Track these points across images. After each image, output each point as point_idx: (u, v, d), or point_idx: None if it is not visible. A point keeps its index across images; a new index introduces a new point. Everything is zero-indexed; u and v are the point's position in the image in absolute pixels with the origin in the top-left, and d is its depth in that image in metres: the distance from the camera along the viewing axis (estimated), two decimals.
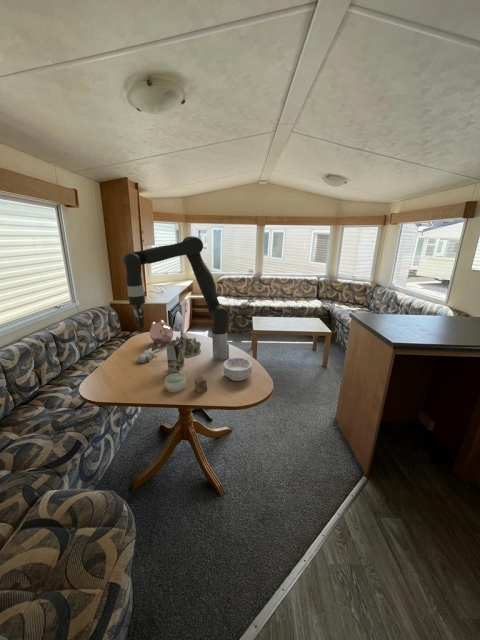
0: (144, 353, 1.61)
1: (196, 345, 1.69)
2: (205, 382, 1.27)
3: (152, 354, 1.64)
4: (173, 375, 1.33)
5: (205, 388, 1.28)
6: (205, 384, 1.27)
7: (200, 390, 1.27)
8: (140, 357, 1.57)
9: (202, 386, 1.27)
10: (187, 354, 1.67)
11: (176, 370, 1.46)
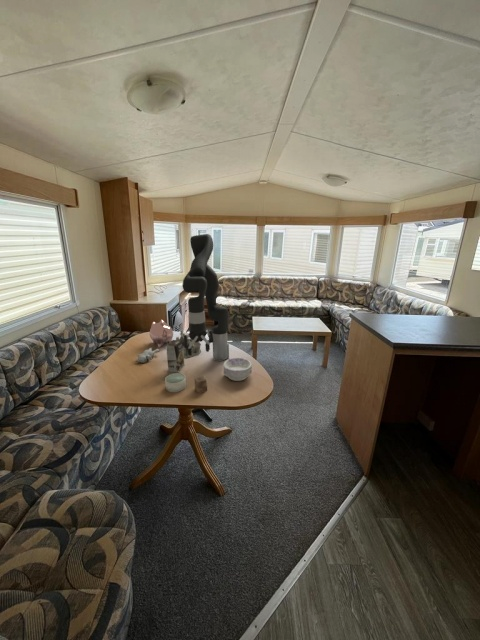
0: (144, 353, 1.61)
1: (196, 345, 1.69)
2: (205, 382, 1.27)
3: (152, 354, 1.64)
4: (173, 375, 1.33)
5: (205, 388, 1.28)
6: (205, 384, 1.27)
7: (200, 390, 1.27)
8: (140, 357, 1.57)
9: (202, 386, 1.27)
10: (187, 354, 1.66)
11: (176, 370, 1.46)
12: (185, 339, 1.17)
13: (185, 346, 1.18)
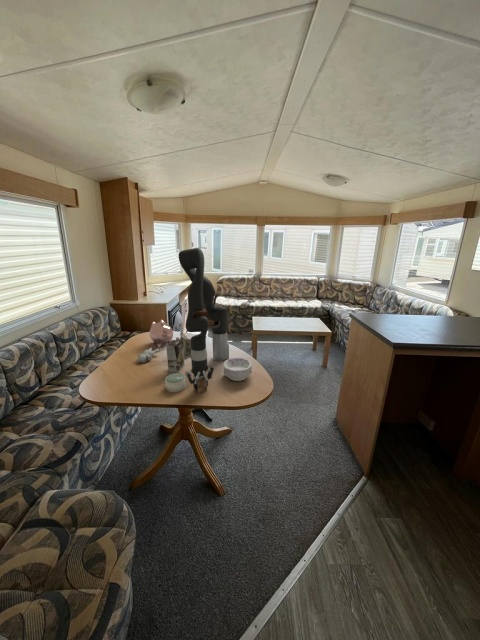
0: (144, 353, 1.61)
1: None
2: (205, 382, 1.27)
3: (152, 354, 1.64)
4: (173, 375, 1.33)
5: (205, 388, 1.28)
6: (205, 384, 1.27)
7: (200, 390, 1.27)
8: (140, 357, 1.57)
9: (202, 386, 1.27)
10: (187, 355, 1.65)
11: (176, 370, 1.46)
12: (189, 377, 1.23)
13: (191, 382, 1.24)
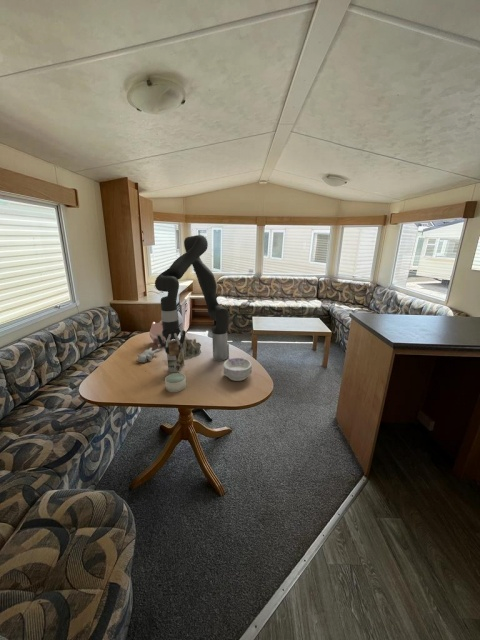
0: (144, 353, 1.61)
1: (196, 346, 1.68)
2: (177, 345, 1.24)
3: (152, 354, 1.64)
4: (173, 375, 1.33)
5: (177, 352, 1.25)
6: (177, 347, 1.25)
7: (172, 353, 1.24)
8: (140, 357, 1.58)
9: (174, 350, 1.24)
10: (187, 355, 1.65)
11: (176, 370, 1.46)
12: (159, 339, 1.20)
13: (162, 345, 1.22)
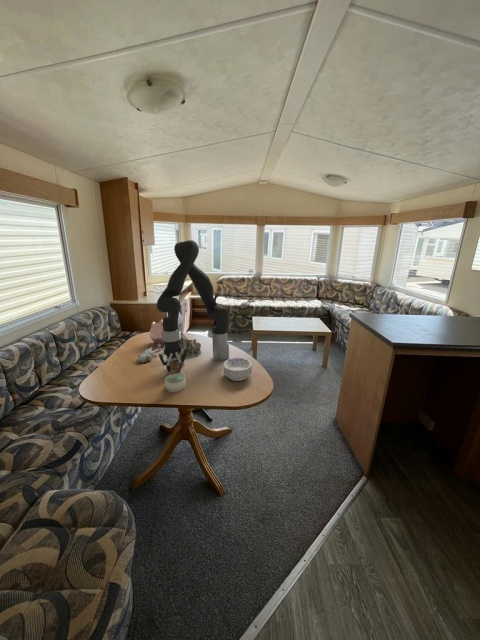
0: (144, 353, 1.61)
1: (196, 346, 1.67)
2: (178, 364, 1.27)
3: (152, 354, 1.64)
4: (173, 375, 1.33)
5: (178, 370, 1.28)
6: (178, 366, 1.28)
7: (173, 372, 1.27)
8: (140, 357, 1.58)
9: (175, 368, 1.27)
10: (187, 355, 1.64)
11: None
12: (161, 358, 1.23)
13: (164, 363, 1.25)
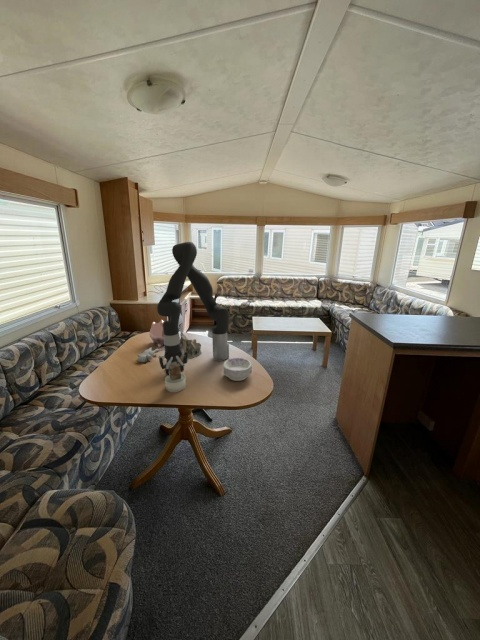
0: (144, 353, 1.61)
1: (197, 346, 1.67)
2: (179, 370, 1.28)
3: (152, 354, 1.64)
4: None
5: (179, 376, 1.29)
6: (179, 372, 1.29)
7: (174, 378, 1.28)
8: (140, 357, 1.58)
9: (176, 374, 1.28)
10: (188, 356, 1.64)
11: None
12: (161, 361, 1.23)
13: (162, 367, 1.25)
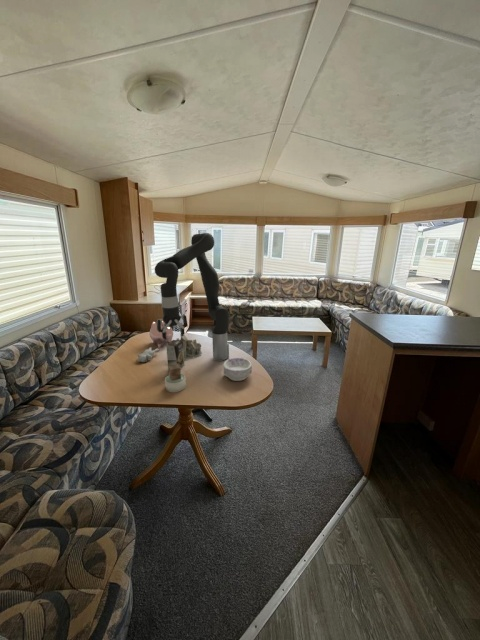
0: (144, 353, 1.61)
1: (197, 347, 1.67)
2: (179, 370, 1.28)
3: (152, 353, 1.64)
4: None
5: (179, 376, 1.29)
6: (179, 372, 1.28)
7: (174, 378, 1.28)
8: (140, 357, 1.58)
9: (175, 374, 1.28)
10: (188, 356, 1.64)
11: None
12: (159, 323, 1.21)
13: (159, 330, 1.22)
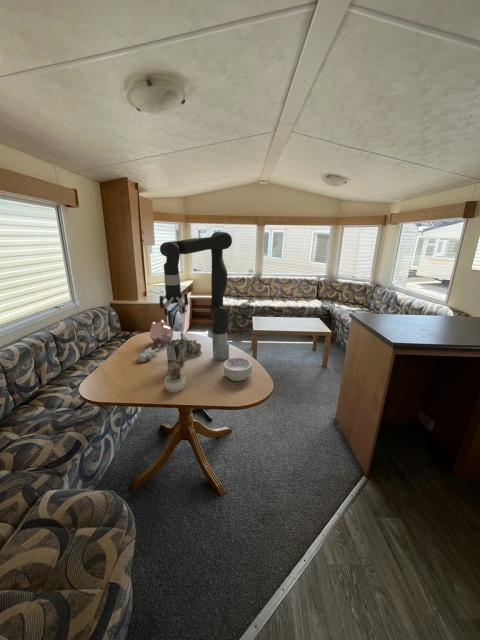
0: (144, 352, 1.61)
1: (197, 347, 1.66)
2: (178, 370, 1.28)
3: (152, 353, 1.65)
4: None
5: (179, 376, 1.29)
6: (179, 372, 1.28)
7: (173, 378, 1.28)
8: (140, 356, 1.58)
9: (175, 374, 1.28)
10: (188, 356, 1.63)
11: None
12: (161, 300, 1.29)
13: (161, 306, 1.30)
